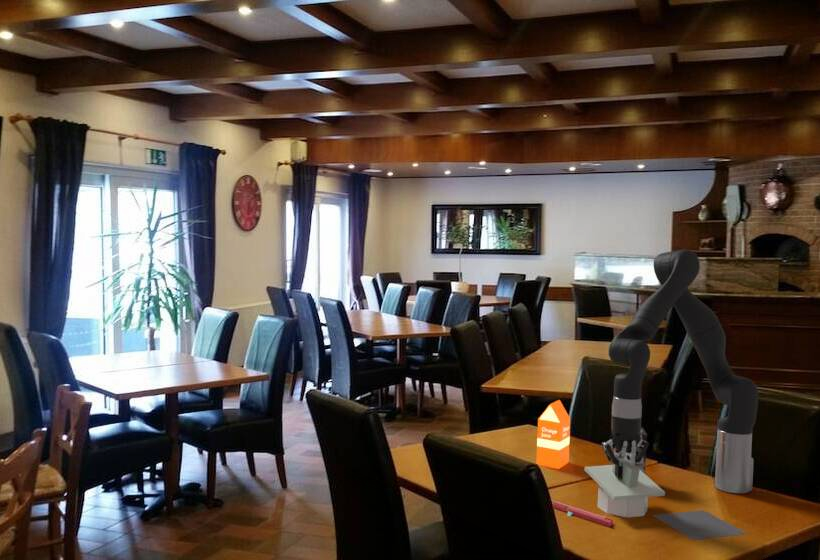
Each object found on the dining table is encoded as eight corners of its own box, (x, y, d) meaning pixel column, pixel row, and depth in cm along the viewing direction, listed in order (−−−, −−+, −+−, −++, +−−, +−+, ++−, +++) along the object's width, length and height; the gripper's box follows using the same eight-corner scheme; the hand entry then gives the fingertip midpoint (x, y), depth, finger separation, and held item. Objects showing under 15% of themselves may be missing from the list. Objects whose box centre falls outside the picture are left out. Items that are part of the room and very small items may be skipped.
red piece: (606, 533, 179) (616, 523, 182) (605, 526, 178) (615, 515, 181) (527, 506, 196) (537, 497, 199) (526, 499, 195) (536, 490, 198)
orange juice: (568, 462, 233) (571, 401, 232) (559, 469, 226) (561, 405, 225) (546, 457, 237) (548, 397, 236) (535, 464, 230) (538, 402, 229)
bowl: (628, 500, 200) (629, 480, 199) (655, 516, 188) (656, 495, 188) (590, 503, 196) (591, 483, 196) (615, 519, 185) (615, 498, 184)
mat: (703, 511, 192) (703, 510, 192) (747, 535, 177) (747, 533, 177) (652, 516, 188) (652, 514, 188) (692, 541, 172) (692, 539, 172)
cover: (632, 466, 201) (635, 447, 199) (664, 495, 187) (668, 474, 186) (584, 470, 197) (587, 450, 195) (613, 500, 183) (617, 478, 181)
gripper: (640, 409, 196) (638, 472, 197) (595, 411, 192) (593, 475, 193) (657, 416, 189) (654, 481, 190) (611, 418, 185) (608, 484, 186)
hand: (623, 478), depth 192 cm, fingers closed on cover
